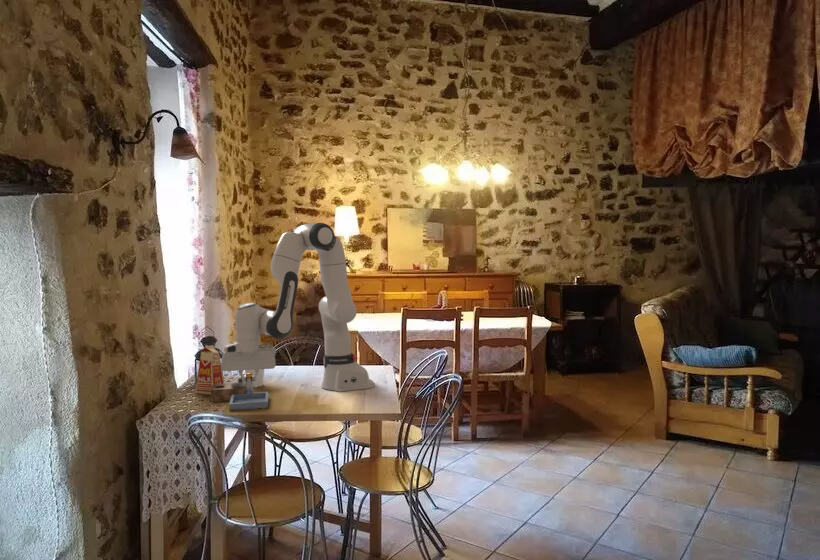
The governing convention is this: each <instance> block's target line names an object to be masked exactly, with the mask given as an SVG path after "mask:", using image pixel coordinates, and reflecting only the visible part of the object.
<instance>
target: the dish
mask: <svg viewBox="0 0 820 560" xmlns="http://www.w3.org/2000/svg"><path fill="white" fill-rule="evenodd" d="M269 398H270V397H269V391H261V392H253V397H246V393H241V394H232V396H231V400H229V404H228V407H229V408H228V410H229V412H230V411H231V410H232V411H243V410H258V409H257V408H262V409H269Z"/></svg>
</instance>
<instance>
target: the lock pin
mask: <svg viewBox="0 0 820 560" xmlns="http://www.w3.org/2000/svg"><path fill="white" fill-rule="evenodd" d="M245 376H246V397H253V393H254V389H253V388H254V387H253V383H252V373H245Z"/></svg>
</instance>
